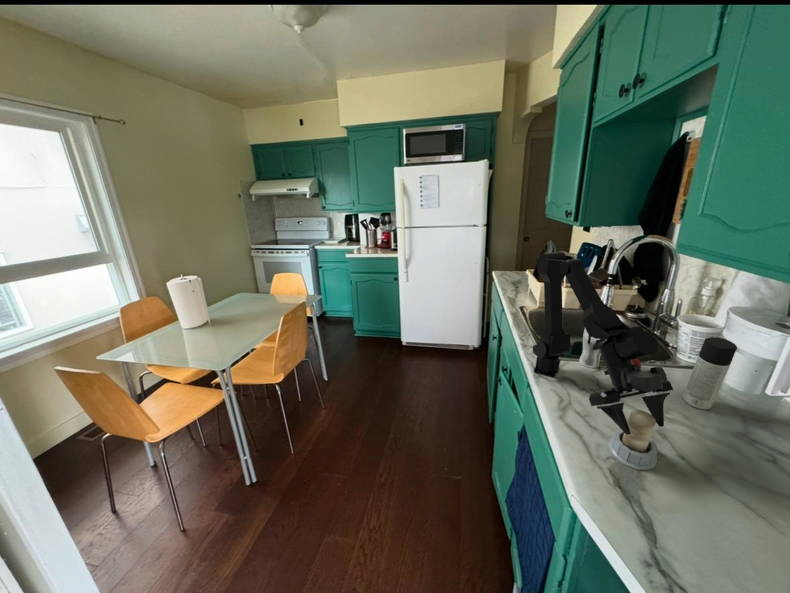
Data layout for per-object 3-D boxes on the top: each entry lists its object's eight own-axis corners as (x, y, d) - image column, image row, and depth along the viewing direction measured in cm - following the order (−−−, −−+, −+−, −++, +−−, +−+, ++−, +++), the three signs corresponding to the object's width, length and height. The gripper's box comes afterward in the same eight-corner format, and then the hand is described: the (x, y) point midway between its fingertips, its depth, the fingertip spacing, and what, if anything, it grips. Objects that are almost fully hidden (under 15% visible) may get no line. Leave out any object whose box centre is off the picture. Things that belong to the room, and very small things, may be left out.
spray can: (718, 409, 99) (745, 348, 91) (695, 411, 99) (720, 350, 90) (697, 393, 105) (721, 335, 97) (676, 395, 105) (698, 336, 96)
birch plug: (616, 449, 87) (626, 416, 83) (625, 439, 90) (635, 406, 86) (639, 462, 84) (651, 429, 79) (647, 451, 86) (659, 418, 82)
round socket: (607, 459, 85) (610, 448, 84) (609, 431, 93) (612, 421, 92) (657, 477, 81) (662, 465, 79) (655, 446, 88) (659, 435, 87)
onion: (641, 382, 111) (647, 360, 107) (620, 380, 112) (626, 358, 108) (633, 370, 116) (639, 350, 112) (614, 369, 117) (619, 348, 114)
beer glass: (602, 370, 116) (612, 330, 110) (578, 366, 119) (587, 327, 112) (599, 358, 122) (608, 320, 116) (576, 355, 125) (584, 317, 118)
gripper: (608, 363, 78) (638, 439, 73) (678, 350, 82) (710, 421, 77) (577, 372, 88) (601, 438, 83) (640, 359, 92) (667, 422, 87)
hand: (645, 430), depth 82 cm, fingers open, 9 cm apart
